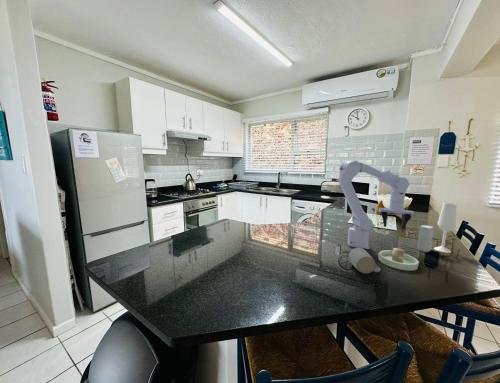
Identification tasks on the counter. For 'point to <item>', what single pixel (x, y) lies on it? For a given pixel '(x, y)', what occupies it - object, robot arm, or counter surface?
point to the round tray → (407, 265)
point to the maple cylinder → (398, 255)
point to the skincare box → (425, 238)
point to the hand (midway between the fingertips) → (393, 227)
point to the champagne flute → (446, 223)
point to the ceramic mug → (362, 261)
